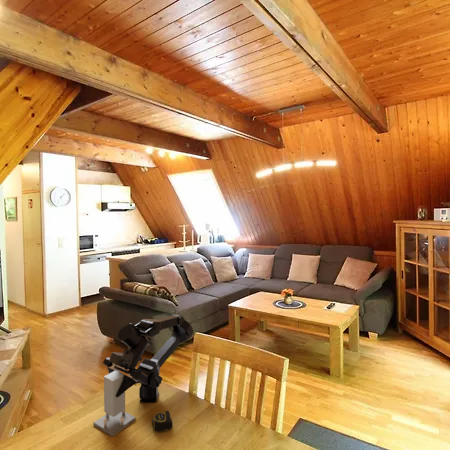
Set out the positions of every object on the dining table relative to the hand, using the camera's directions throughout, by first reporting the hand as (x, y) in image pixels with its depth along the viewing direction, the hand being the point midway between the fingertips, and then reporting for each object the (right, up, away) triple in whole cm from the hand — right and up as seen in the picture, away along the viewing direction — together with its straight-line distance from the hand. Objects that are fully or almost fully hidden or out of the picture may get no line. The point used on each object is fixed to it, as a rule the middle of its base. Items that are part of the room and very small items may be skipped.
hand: (111, 394), depth 113 cm
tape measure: (+18, -12, +1) cm, 22 cm away
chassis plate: (+1, -11, +2) cm, 11 cm away
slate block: (+1, -7, +2) cm, 7 cm away
